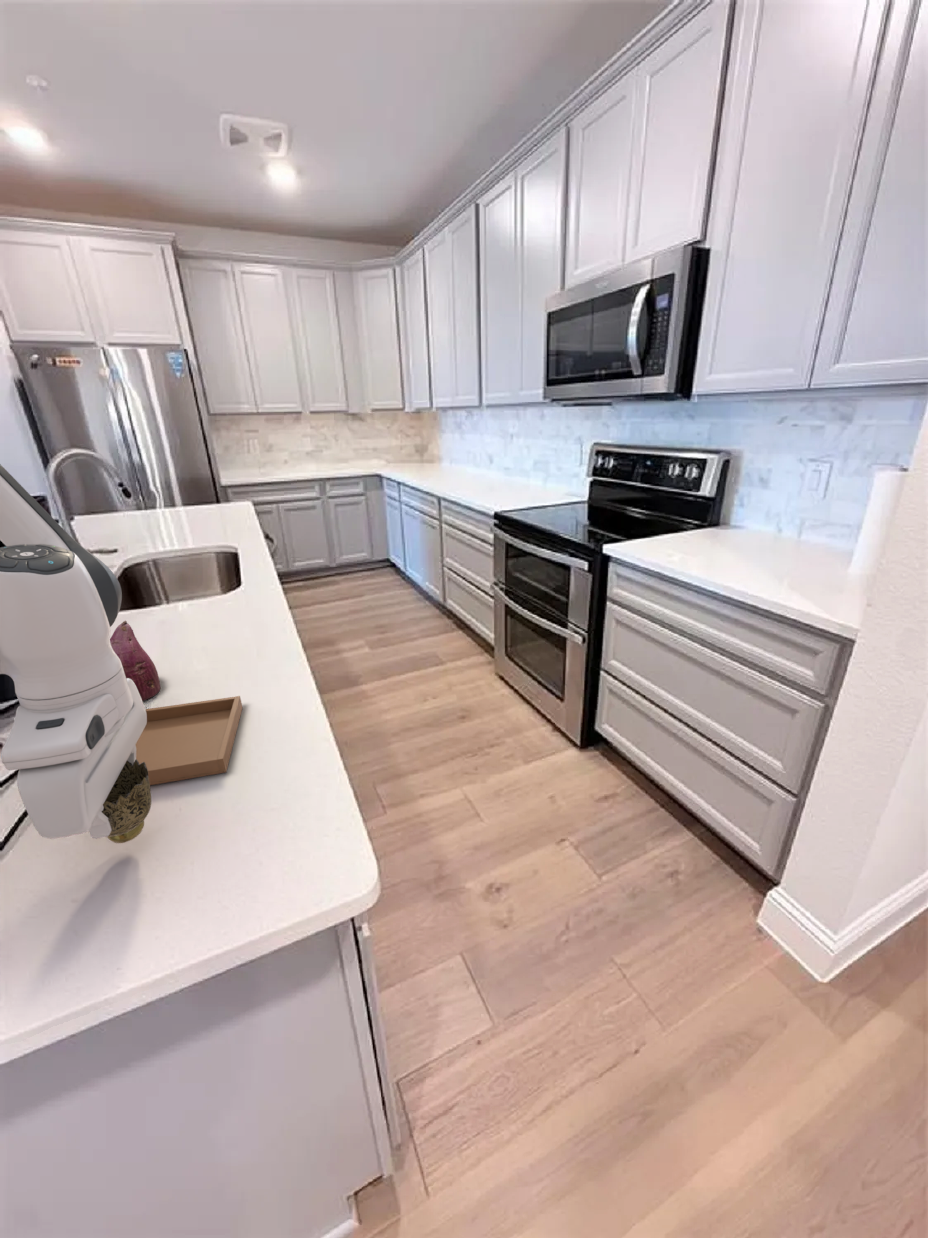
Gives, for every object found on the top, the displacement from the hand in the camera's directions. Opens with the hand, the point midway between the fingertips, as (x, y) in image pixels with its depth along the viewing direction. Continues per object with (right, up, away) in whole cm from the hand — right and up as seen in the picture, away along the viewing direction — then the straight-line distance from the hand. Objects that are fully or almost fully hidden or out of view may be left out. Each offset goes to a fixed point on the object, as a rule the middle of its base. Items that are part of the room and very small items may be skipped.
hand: (117, 805), depth 58 cm
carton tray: (-7, +2, +20) cm, 21 cm away
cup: (0, -4, +2) cm, 4 cm away
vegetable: (-22, +8, +35) cm, 42 cm away
